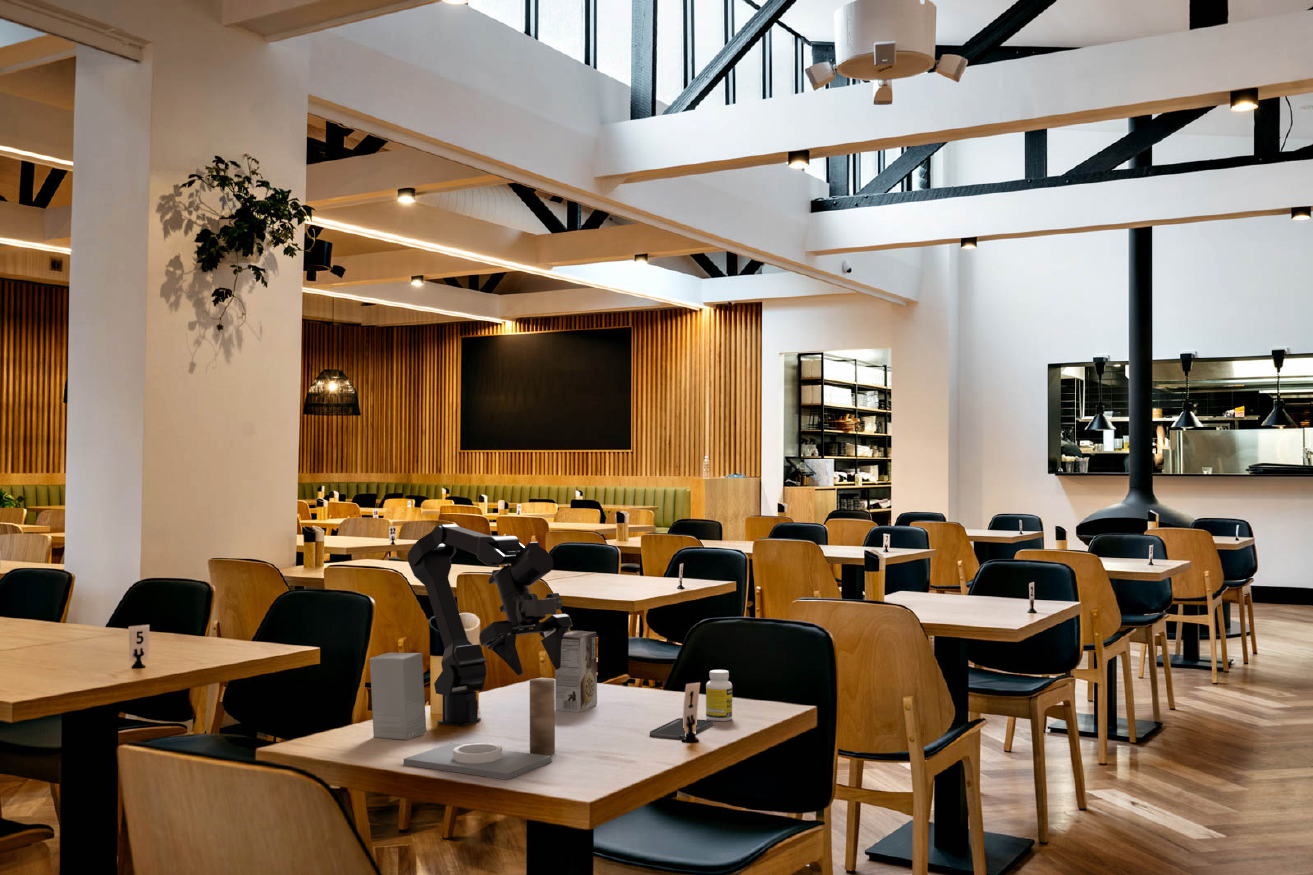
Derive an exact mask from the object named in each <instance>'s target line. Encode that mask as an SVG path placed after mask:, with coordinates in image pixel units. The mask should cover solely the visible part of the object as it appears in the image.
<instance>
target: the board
mask: <svg viewBox="0 0 1313 875" xmlns="http://www.w3.org/2000/svg"><path fill="white" fill-rule="evenodd" d="M552 756H553V755H550V756H547V755H539V754H531V753H530V752H523V751H515V750H506V749H503V747H502V746H501V745H499V744H496V743H491V742H490V743H489V742H482V743H481V742H480V743H479V742H477V743H476V742H475V743H467V744H463V743H462V744H460V743H453V742H452V743H451V742H450V743H448V744H444V745H441V746H439V747H436V748H432V749H429V750H426V751H423V752H420V753H416V754H414V755H411V756H407V757H405V758H403V766H404V765H405V766H412V767H417V768H425V769H426V768H427V769H433V770H438V771H446V772H452V773H460V774H466V775H473V776H481V777H485V778H493V779H501V780H505V781H506V780H509V779H512V778H515V777H517V776H520V775H522V774H525V773H527V772H530V771H532V770H535V769H538V768H539V767H543V766H546V765H548V764H551V763H552V760H553V758H552Z"/></svg>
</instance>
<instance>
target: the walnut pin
mask: <svg viewBox="0 0 1313 875" xmlns="http://www.w3.org/2000/svg"><path fill="white" fill-rule="evenodd" d="M555 716H556V710H555V678H554V679H553V678H549V677H548V678H546V677H543V678H541V677H540V678H533V679H530V680H529V753H531V754H539V755H547V756H553V755H555V754H556V725H555V724H556V722H555V721H556V717H555Z"/></svg>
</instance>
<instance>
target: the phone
mask: <svg viewBox="0 0 1313 875" xmlns="http://www.w3.org/2000/svg"><path fill="white" fill-rule="evenodd" d="M683 718H684V717H680V718H679V717H678V718H675V719H673V720H672V721H669V722H667V723H666V724H662V725H661V726H658V727H656V728H655V729H652V730H650V731H649V737H650V738H657V739H658V738H659V739H668V740H679V741H684V738H685V731H684V728H683ZM713 726H714V721H711V720H708V719H699V718H697V725H696V735H697V734H700V733H701V732H703V731H705V730H707V729H709V728H711V727H713Z"/></svg>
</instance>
